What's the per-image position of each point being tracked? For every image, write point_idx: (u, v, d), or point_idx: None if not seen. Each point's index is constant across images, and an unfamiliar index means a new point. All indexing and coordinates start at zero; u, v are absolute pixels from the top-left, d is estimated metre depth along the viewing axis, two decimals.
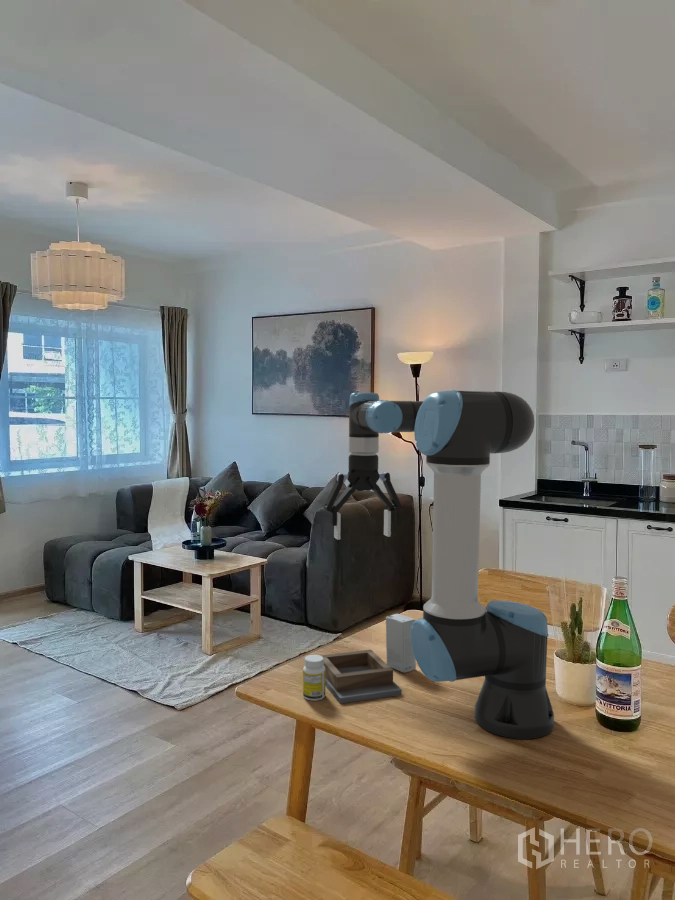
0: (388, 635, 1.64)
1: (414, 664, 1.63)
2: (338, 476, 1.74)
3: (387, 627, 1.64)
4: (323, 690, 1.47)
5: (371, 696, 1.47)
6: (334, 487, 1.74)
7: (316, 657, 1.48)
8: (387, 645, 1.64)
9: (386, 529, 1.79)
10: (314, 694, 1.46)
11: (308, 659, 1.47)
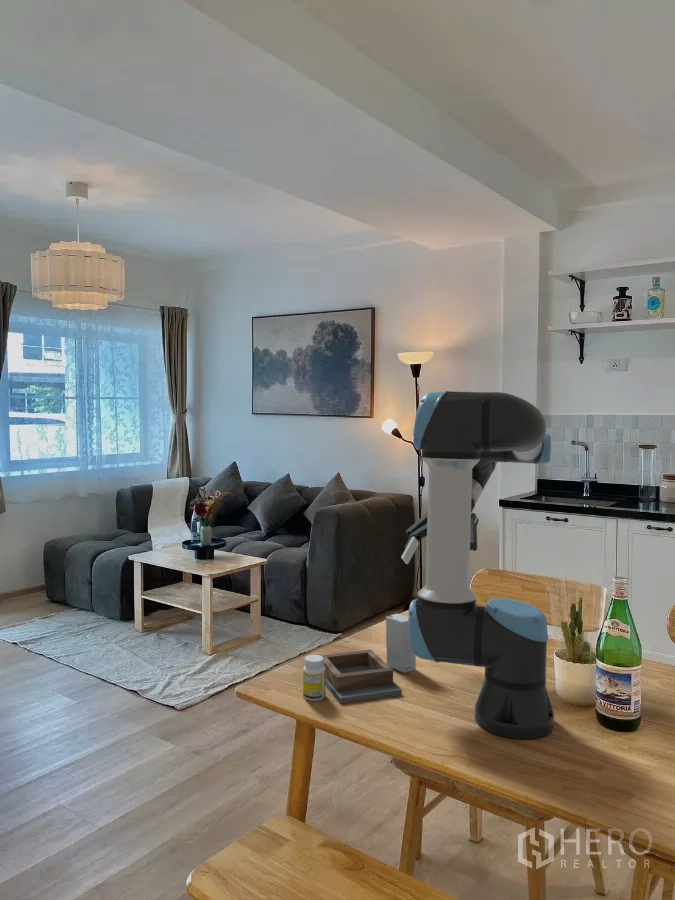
0: (388, 635, 1.64)
1: (414, 664, 1.63)
2: None
3: (387, 627, 1.64)
4: (323, 690, 1.47)
5: (371, 696, 1.47)
6: None
7: (316, 657, 1.48)
8: (387, 645, 1.64)
9: None
10: (314, 694, 1.46)
11: (308, 659, 1.47)
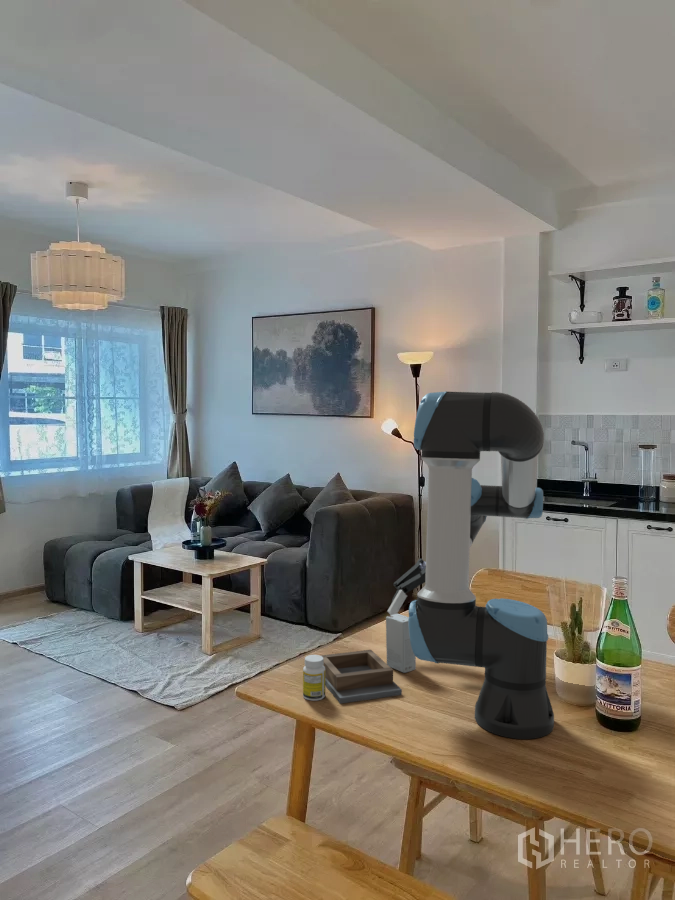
0: (388, 635, 1.64)
1: (414, 664, 1.63)
2: None
3: (387, 627, 1.64)
4: (323, 690, 1.47)
5: (371, 696, 1.47)
6: None
7: (316, 657, 1.48)
8: (387, 645, 1.64)
9: None
10: (314, 694, 1.46)
11: (308, 659, 1.47)
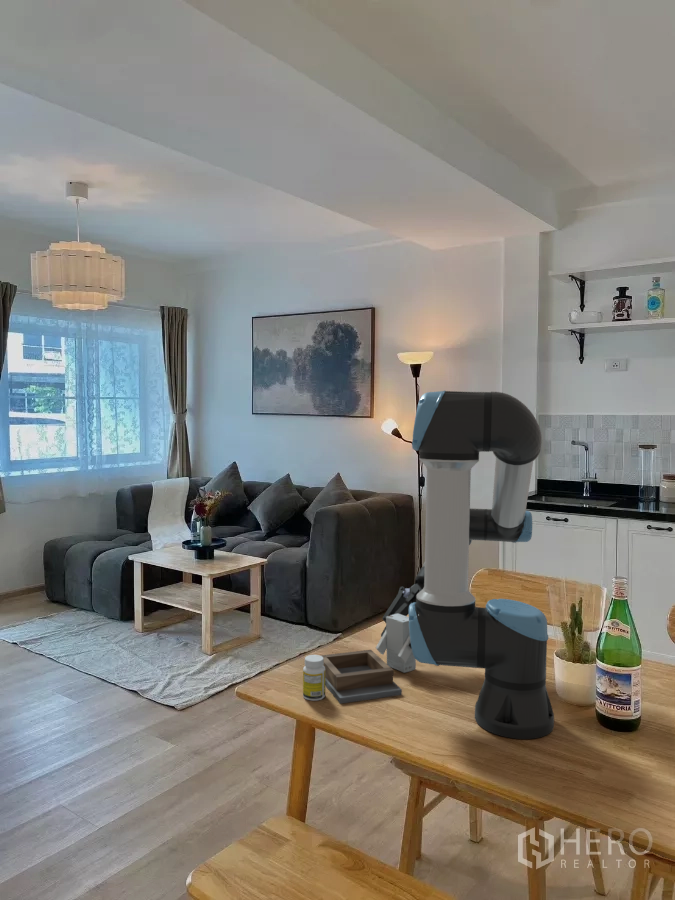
0: (388, 635, 1.64)
1: (414, 664, 1.63)
2: None
3: (387, 627, 1.64)
4: (323, 690, 1.47)
5: (371, 696, 1.47)
6: None
7: (316, 657, 1.48)
8: (387, 645, 1.64)
9: None
10: (314, 694, 1.46)
11: (308, 659, 1.47)
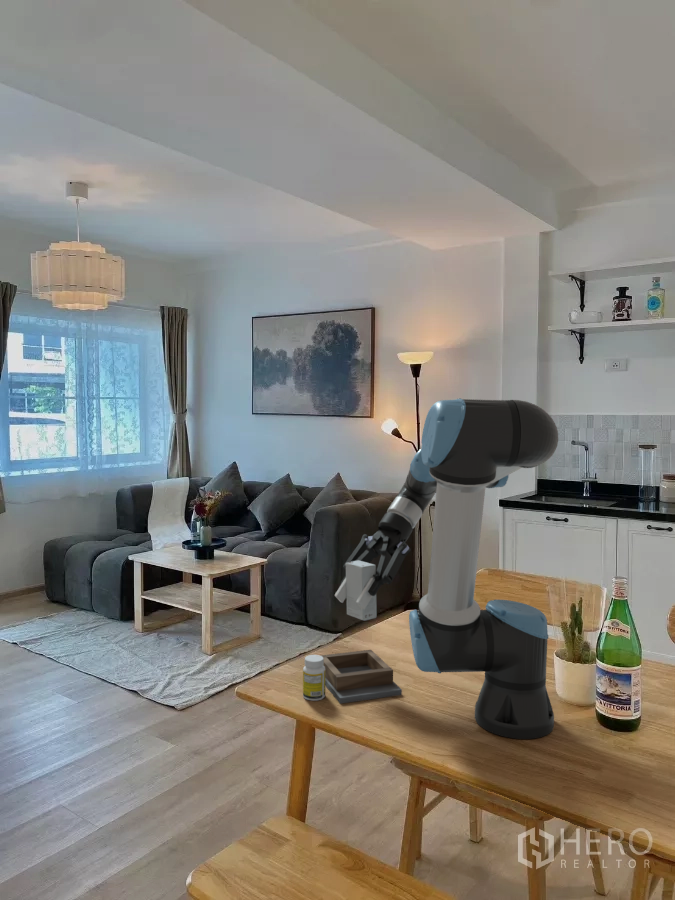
0: (348, 582, 1.57)
1: (375, 612, 1.55)
2: None
3: (347, 574, 1.57)
4: (323, 690, 1.47)
5: (371, 696, 1.47)
6: None
7: (316, 657, 1.48)
8: (347, 592, 1.57)
9: None
10: (314, 694, 1.46)
11: (308, 659, 1.47)
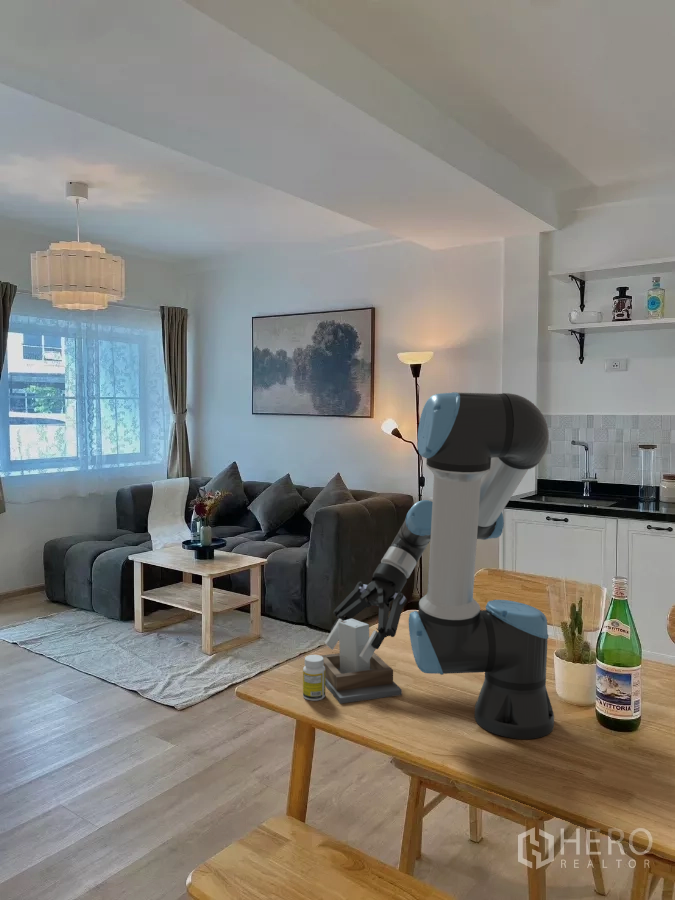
0: (341, 641, 1.56)
1: None
2: None
3: (340, 633, 1.56)
4: (323, 690, 1.47)
5: (371, 696, 1.47)
6: None
7: (316, 657, 1.48)
8: (340, 652, 1.56)
9: None
10: (314, 694, 1.46)
11: (308, 659, 1.47)
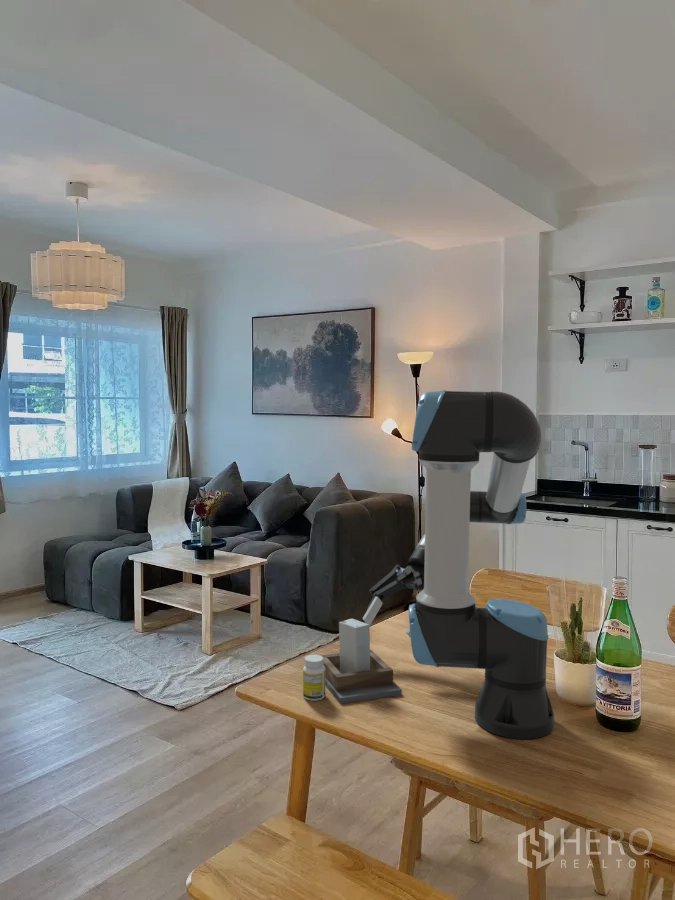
0: (341, 641, 1.56)
1: None
2: None
3: (340, 633, 1.56)
4: (323, 690, 1.47)
5: (371, 696, 1.47)
6: None
7: (316, 657, 1.48)
8: (341, 652, 1.56)
9: None
10: (314, 694, 1.46)
11: (308, 659, 1.47)
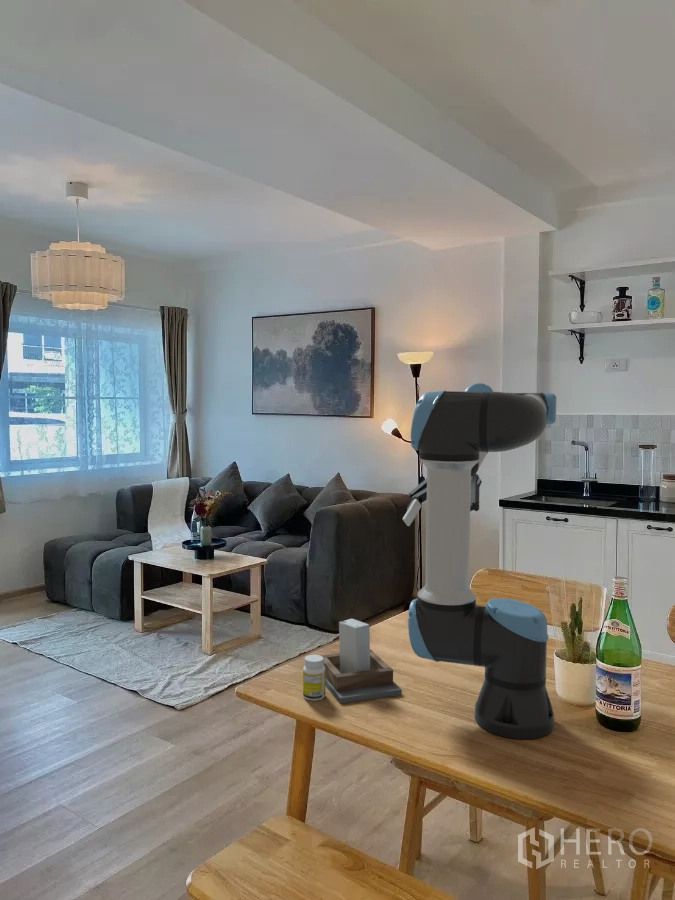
0: (341, 641, 1.56)
1: None
2: None
3: (340, 633, 1.56)
4: (323, 690, 1.47)
5: (371, 696, 1.47)
6: None
7: (316, 657, 1.48)
8: (341, 652, 1.56)
9: None
10: (314, 694, 1.46)
11: (308, 659, 1.47)
